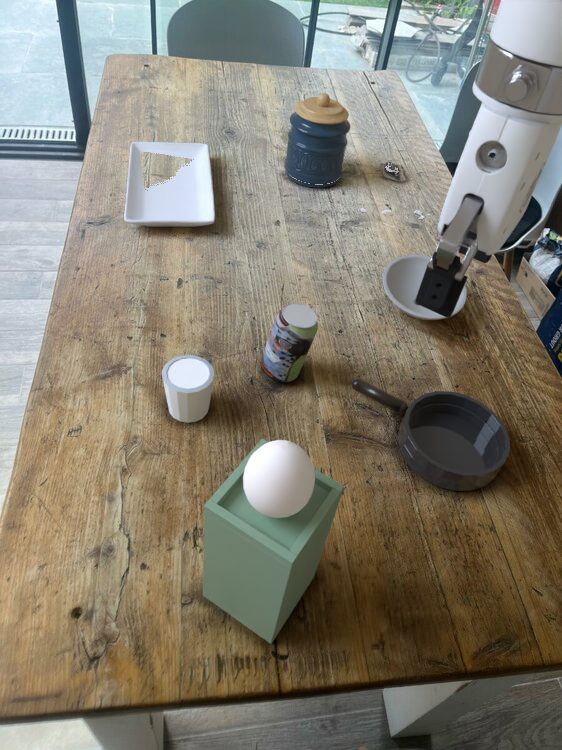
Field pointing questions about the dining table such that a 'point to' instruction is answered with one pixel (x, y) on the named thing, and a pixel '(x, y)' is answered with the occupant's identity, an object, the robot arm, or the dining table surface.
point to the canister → (317, 141)
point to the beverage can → (289, 342)
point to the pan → (453, 440)
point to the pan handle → (379, 396)
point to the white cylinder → (188, 387)
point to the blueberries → (392, 175)
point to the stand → (263, 552)
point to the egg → (279, 479)
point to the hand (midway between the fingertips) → (453, 281)
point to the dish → (411, 286)
